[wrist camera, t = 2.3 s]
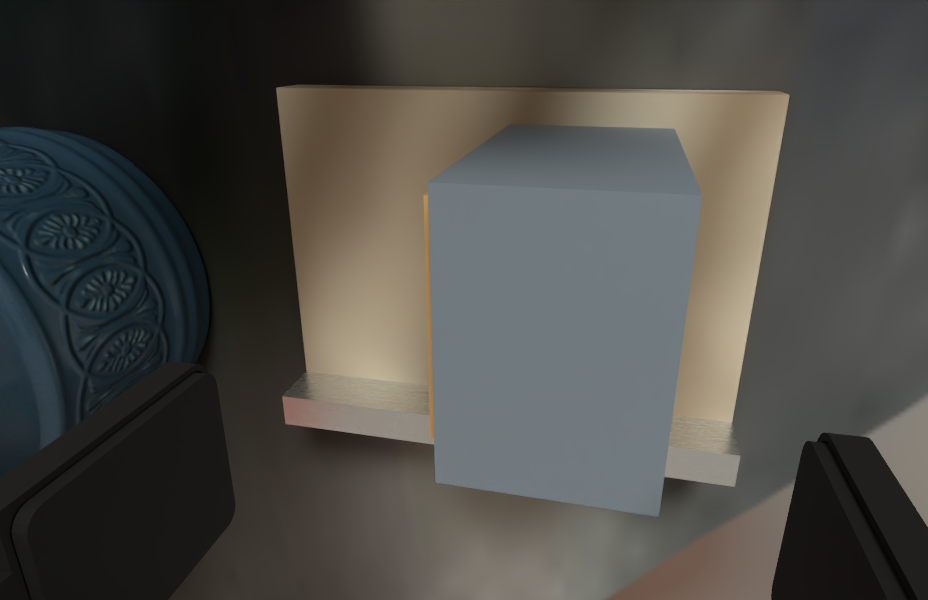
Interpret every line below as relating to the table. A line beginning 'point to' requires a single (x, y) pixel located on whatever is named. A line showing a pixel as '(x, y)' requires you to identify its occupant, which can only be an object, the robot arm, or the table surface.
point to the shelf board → (403, 241)
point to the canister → (85, 284)
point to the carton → (559, 312)
